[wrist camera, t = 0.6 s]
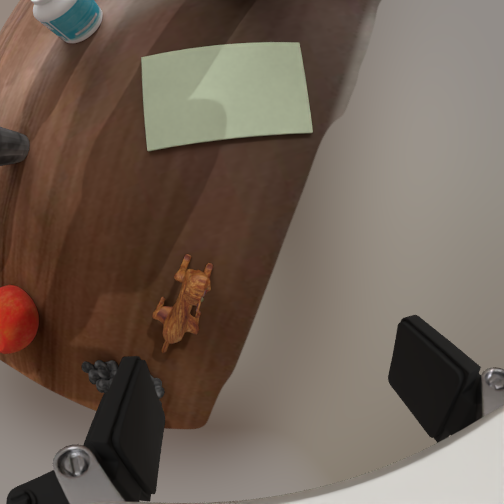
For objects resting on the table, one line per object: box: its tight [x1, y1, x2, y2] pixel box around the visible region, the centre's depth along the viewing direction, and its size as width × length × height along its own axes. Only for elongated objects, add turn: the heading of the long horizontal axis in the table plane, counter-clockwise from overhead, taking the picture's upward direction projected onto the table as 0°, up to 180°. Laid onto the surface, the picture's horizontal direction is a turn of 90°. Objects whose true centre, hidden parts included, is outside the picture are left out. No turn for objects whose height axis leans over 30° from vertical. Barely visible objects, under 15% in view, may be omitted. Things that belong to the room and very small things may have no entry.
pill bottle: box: [31, 0, 103, 43], centre depth 22 cm, size 8×7×14 cm
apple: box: [0, 285, 39, 354], centre depth 33 cm, size 11×11×11 cm
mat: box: [142, 42, 313, 151], centre depth 34 cm, size 14×22×1 cm, turn 96°
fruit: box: [82, 360, 164, 409], centre depth 39 cm, size 9×8×15 cm
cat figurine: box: [153, 254, 213, 353], centre depth 34 cm, size 18×7×14 cm, turn 155°
